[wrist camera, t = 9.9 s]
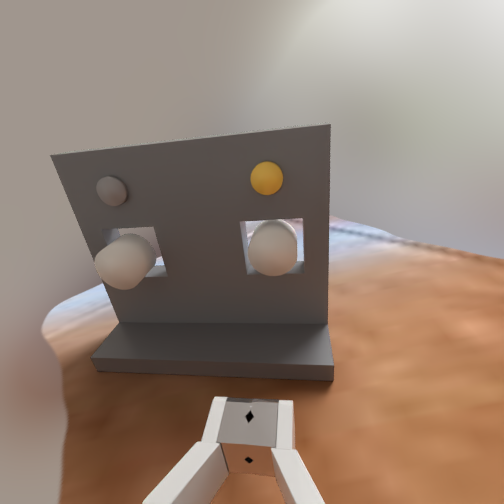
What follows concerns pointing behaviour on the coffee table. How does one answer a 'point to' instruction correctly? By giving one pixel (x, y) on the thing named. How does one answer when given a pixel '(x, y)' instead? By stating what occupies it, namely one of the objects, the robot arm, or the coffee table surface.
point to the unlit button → (125, 261)
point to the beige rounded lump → (273, 248)
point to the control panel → (212, 251)
